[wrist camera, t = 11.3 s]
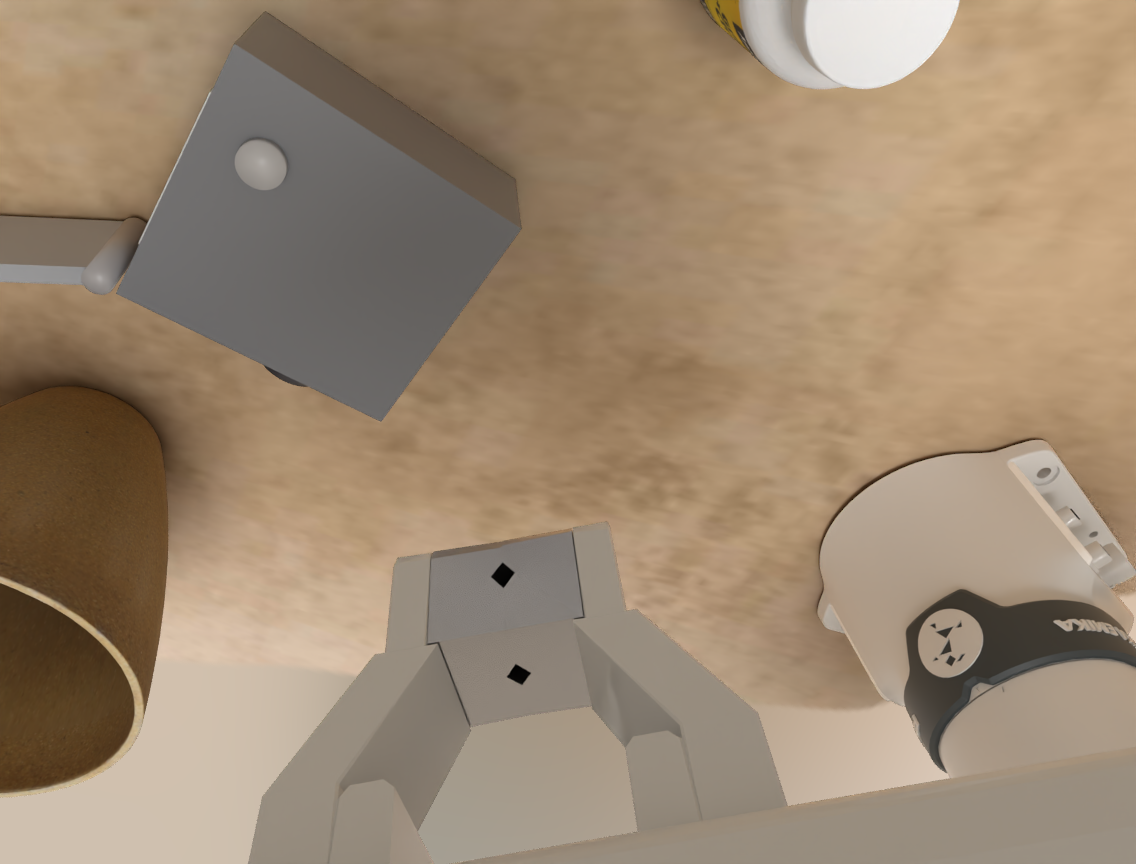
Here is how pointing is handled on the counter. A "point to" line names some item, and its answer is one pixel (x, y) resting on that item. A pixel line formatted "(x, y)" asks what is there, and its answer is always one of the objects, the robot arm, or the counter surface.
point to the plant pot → (76, 584)
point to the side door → (67, 250)
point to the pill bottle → (837, 37)
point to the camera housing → (320, 224)
